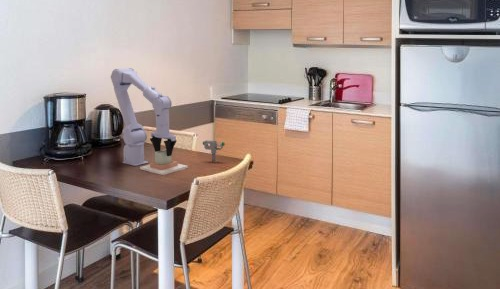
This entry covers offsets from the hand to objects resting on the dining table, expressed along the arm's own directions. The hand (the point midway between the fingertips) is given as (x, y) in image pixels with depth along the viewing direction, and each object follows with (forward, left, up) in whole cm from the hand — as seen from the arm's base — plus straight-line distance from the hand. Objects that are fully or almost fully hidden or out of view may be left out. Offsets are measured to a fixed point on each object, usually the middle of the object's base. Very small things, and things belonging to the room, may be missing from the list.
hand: (163, 154), depth 201 cm
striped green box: (0, 0, -6) cm, 6 cm away
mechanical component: (+9, +23, -7) cm, 26 cm away
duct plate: (0, 0, -7) cm, 7 cm away
